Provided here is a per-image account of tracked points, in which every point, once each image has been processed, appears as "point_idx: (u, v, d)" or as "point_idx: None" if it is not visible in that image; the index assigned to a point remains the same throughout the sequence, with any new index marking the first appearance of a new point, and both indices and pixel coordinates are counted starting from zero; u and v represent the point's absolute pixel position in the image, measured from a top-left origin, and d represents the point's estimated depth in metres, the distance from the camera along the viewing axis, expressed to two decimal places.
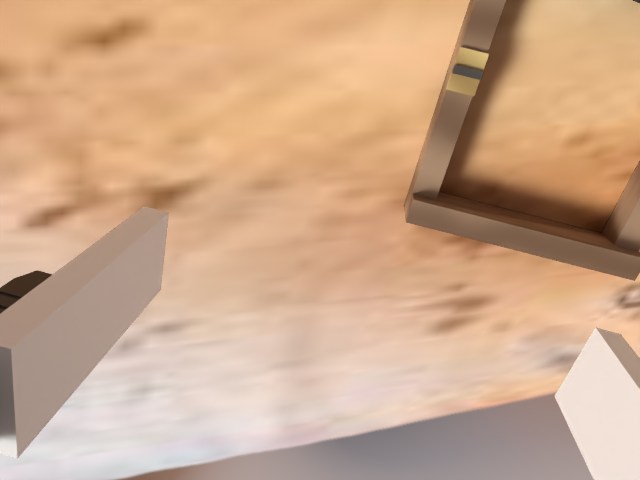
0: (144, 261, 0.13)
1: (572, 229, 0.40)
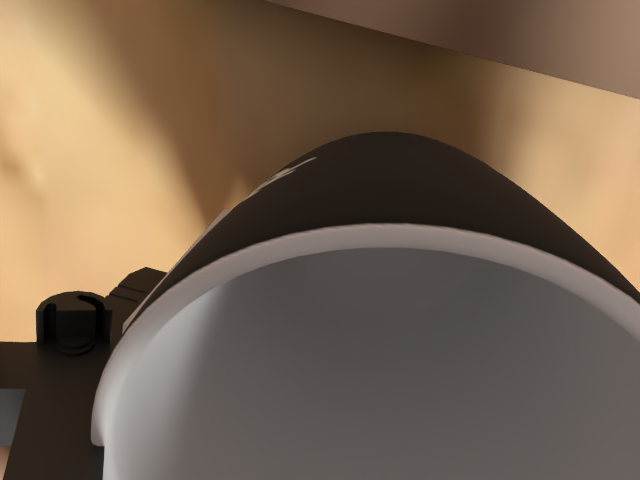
0: None
1: None
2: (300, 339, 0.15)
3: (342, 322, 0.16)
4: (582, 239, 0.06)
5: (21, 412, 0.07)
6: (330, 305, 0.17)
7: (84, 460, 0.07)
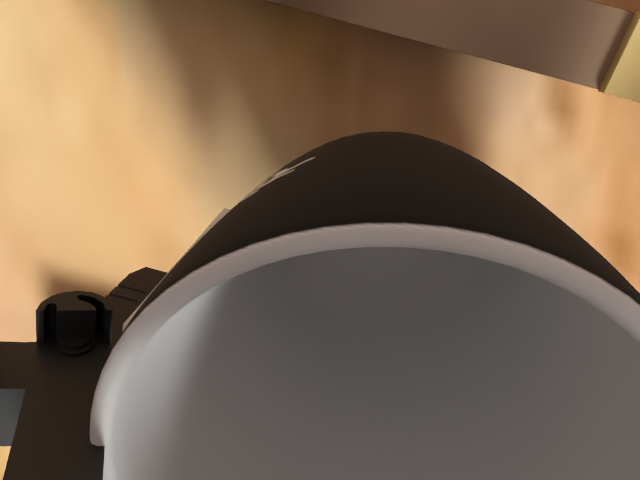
0: None
1: None
2: (299, 338, 0.15)
3: (342, 322, 0.16)
4: (581, 239, 0.06)
5: (21, 412, 0.07)
6: (330, 305, 0.17)
7: (83, 460, 0.07)
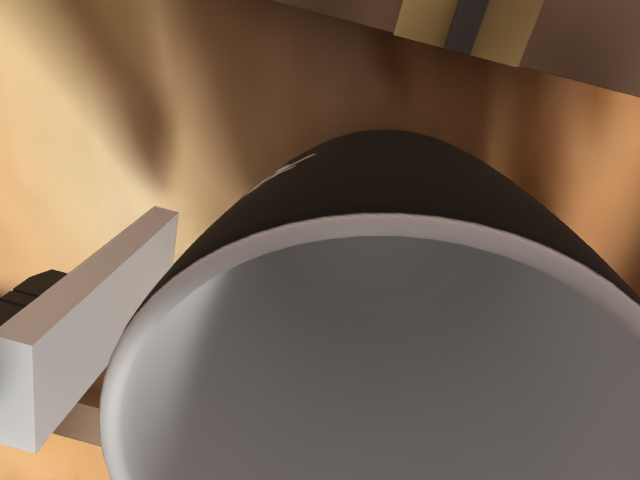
0: (155, 260, 0.13)
1: None
2: (300, 333, 0.15)
3: (342, 317, 0.17)
4: (570, 231, 0.07)
5: None
6: (331, 301, 0.17)
7: None
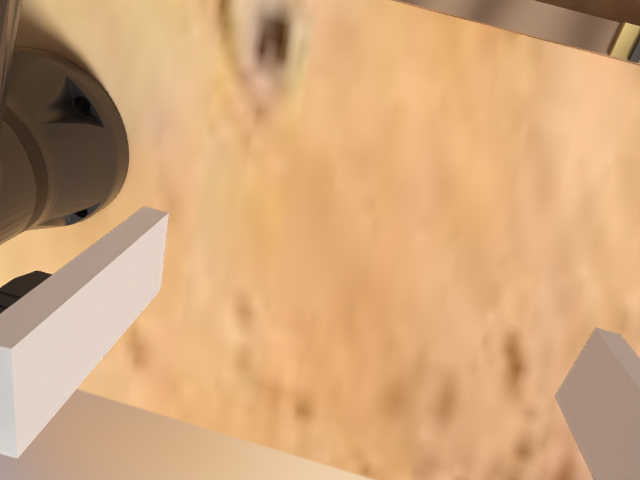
0: (144, 261, 0.13)
1: None
2: None
3: None
4: None
5: None
6: None
7: None
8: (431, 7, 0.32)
